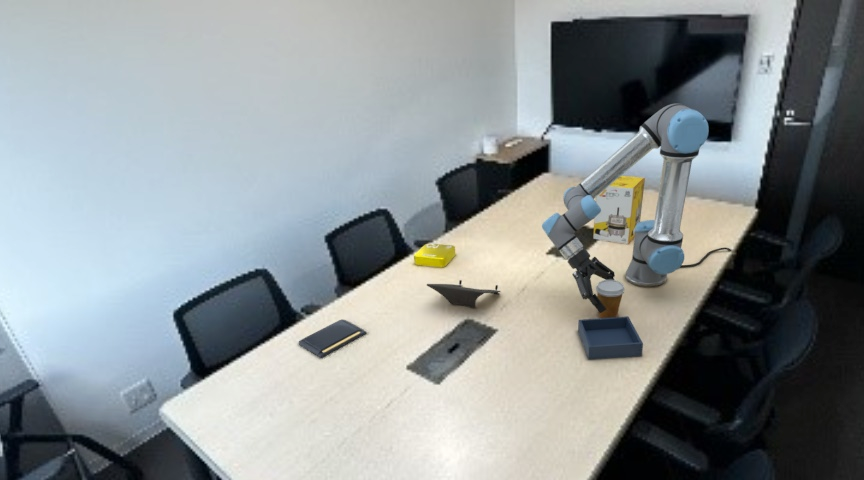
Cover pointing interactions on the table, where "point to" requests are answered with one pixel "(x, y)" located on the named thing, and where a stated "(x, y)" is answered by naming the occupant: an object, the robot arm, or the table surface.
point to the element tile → (434, 255)
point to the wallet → (331, 338)
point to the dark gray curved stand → (461, 293)
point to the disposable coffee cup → (610, 297)
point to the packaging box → (619, 210)
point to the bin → (609, 338)
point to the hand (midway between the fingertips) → (612, 302)
